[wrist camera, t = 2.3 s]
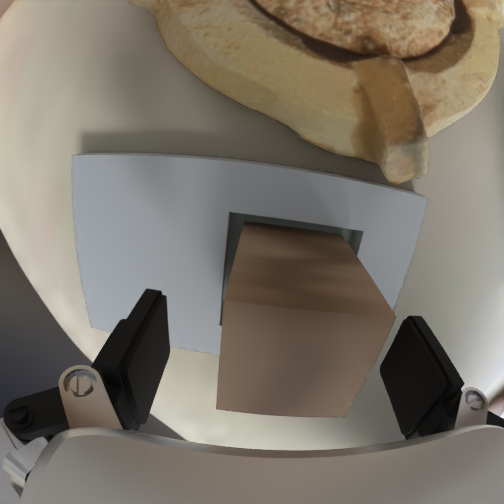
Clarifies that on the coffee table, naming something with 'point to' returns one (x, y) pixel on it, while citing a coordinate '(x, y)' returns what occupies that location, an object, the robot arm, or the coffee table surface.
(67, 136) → the coffee table surface
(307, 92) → the ashtray
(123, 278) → the pocket board
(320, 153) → the coffee table surface
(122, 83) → the coffee table surface
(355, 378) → the block
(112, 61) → the coffee table surface
